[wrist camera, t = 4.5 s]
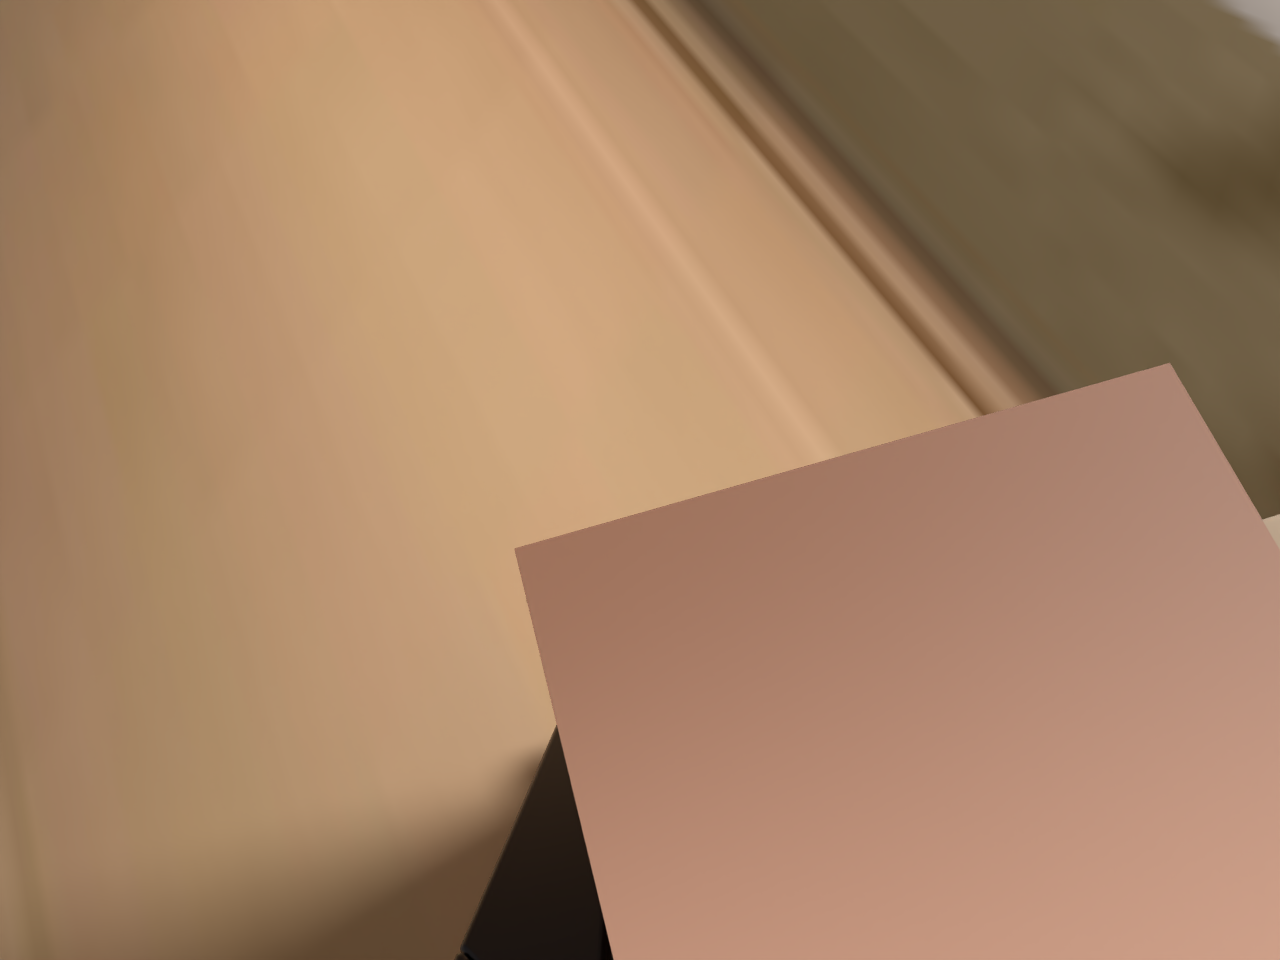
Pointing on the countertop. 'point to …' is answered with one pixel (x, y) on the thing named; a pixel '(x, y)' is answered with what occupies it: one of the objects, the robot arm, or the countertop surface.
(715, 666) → the board with upright post
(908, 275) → the countertop surface
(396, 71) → the countertop surface
